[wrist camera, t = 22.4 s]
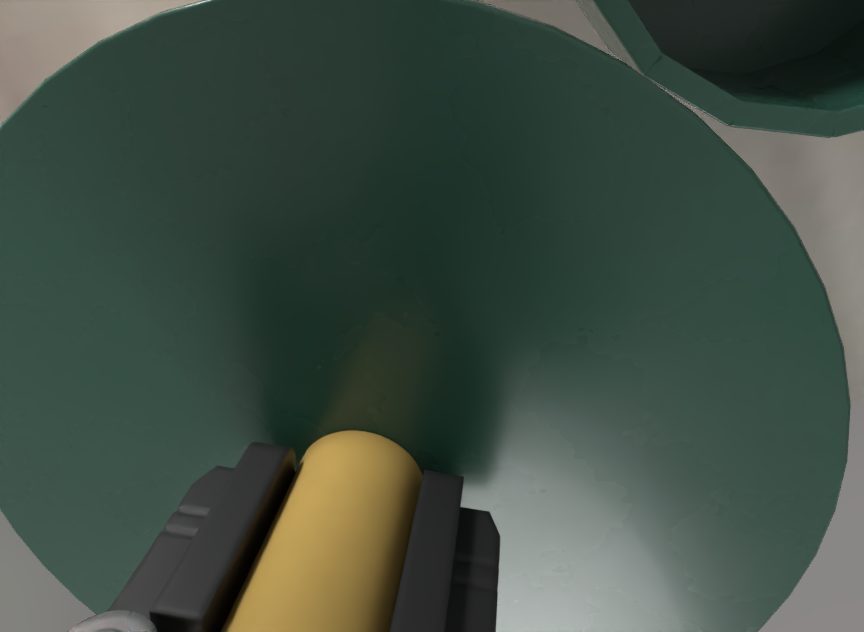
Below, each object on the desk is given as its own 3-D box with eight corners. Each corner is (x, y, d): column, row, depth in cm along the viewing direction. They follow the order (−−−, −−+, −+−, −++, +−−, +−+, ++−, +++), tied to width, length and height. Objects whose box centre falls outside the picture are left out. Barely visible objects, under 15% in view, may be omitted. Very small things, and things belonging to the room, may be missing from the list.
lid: (-128, -75, 10) (-949, -146, 4) (1015, 53, 9) (1847, 176, 3) (62, 630, 18) (-147, 920, 12) (676, 747, 16) (749, 1126, 11)
